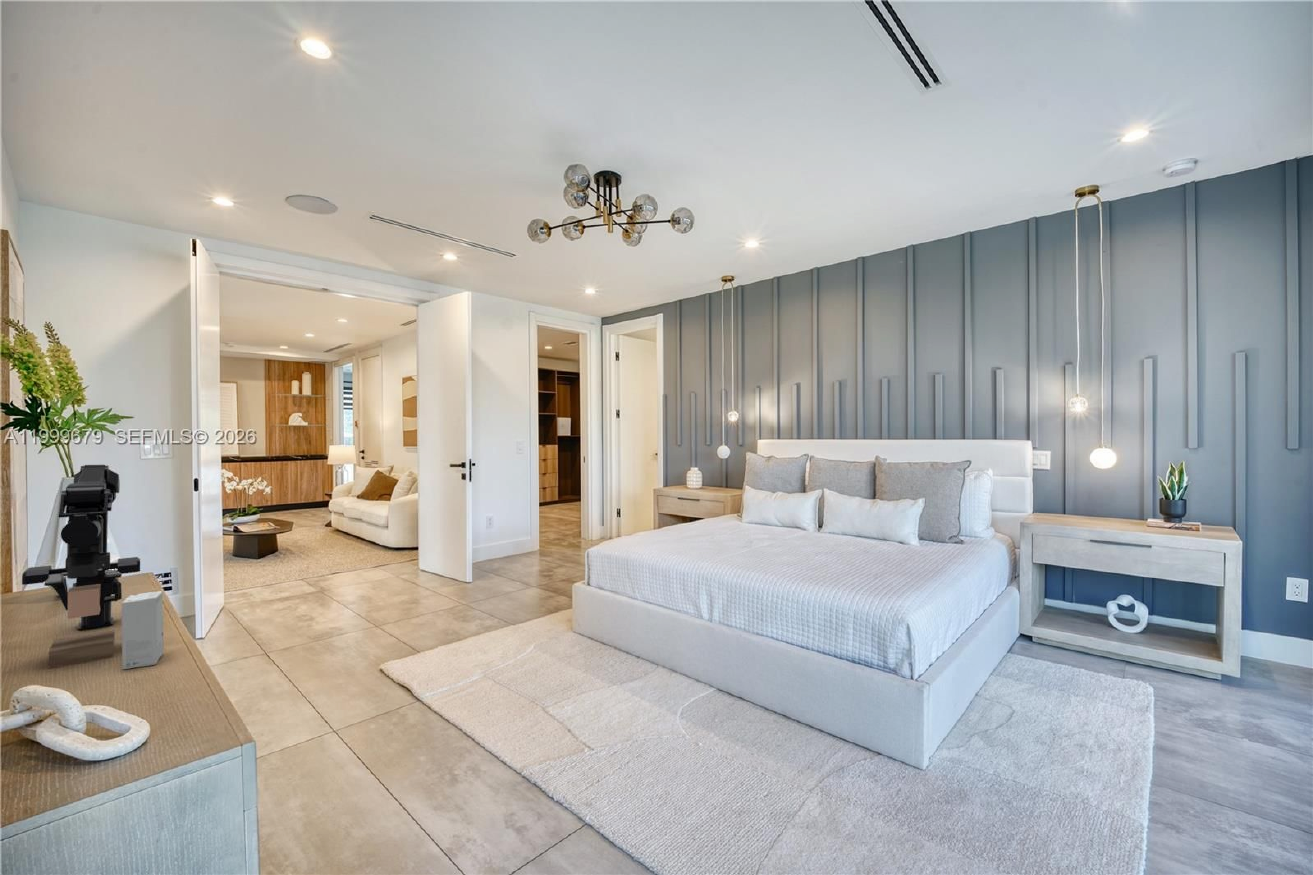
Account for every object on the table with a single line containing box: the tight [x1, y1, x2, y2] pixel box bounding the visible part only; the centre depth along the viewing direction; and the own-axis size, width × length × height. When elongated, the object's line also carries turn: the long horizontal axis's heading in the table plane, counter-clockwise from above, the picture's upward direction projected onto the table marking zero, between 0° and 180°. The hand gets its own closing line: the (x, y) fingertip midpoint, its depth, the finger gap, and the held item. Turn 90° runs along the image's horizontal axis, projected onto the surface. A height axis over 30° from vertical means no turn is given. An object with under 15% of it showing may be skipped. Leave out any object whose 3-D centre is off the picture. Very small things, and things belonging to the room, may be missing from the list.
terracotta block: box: [67, 584, 101, 620], centre depth 128 cm, size 5×5×6 cm
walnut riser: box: [48, 629, 116, 669], centre depth 128 cm, size 10×10×4 cm
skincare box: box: [121, 590, 164, 670], centre depth 125 cm, size 8×6×15 cm
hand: (84, 607), depth 128 cm, fingers closed on terracotta block, 5 cm apart
